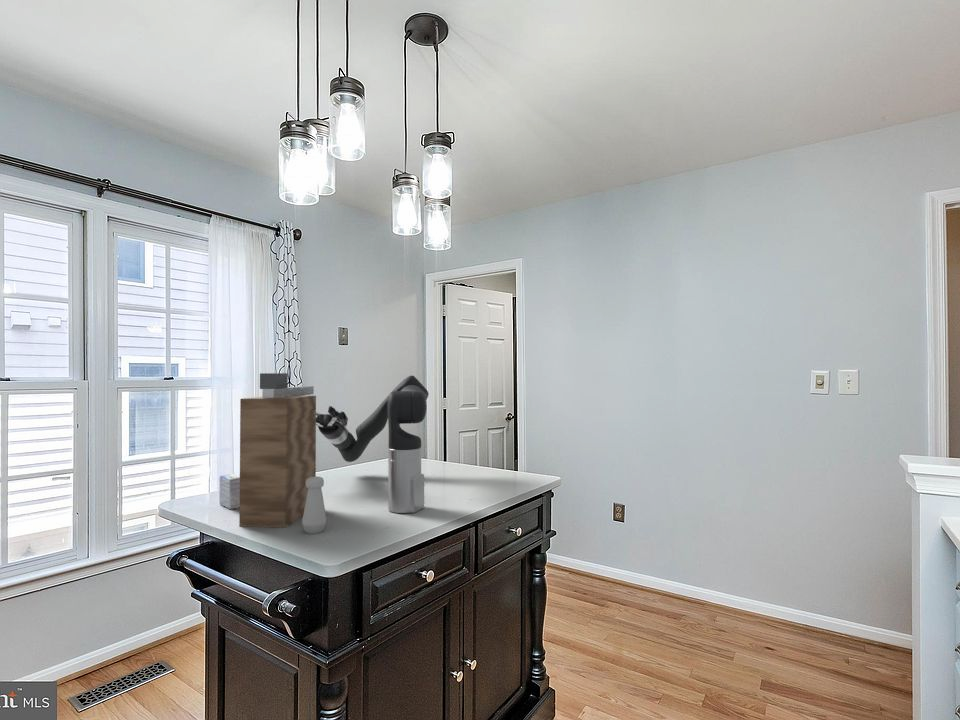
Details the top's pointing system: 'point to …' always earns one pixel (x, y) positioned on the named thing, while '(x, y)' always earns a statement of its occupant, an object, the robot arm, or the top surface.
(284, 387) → the gray stepped bar
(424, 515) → the top surface
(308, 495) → the salt shaker
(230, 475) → the medicine box
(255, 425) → the stand
